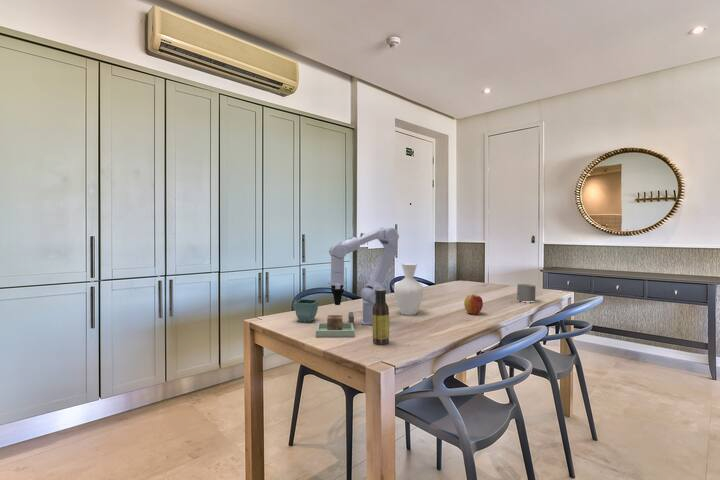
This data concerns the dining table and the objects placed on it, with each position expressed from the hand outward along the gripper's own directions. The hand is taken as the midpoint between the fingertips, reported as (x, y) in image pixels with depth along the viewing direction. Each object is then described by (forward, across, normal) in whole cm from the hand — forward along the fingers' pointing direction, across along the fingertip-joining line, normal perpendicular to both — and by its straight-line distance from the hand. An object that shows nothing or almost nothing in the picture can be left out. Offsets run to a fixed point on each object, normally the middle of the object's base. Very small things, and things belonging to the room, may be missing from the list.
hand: (337, 303), depth 161 cm
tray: (+10, +10, -1) cm, 14 cm away
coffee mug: (+11, -52, +116) cm, 128 cm away
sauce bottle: (+10, +24, +16) cm, 30 cm away
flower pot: (+10, -10, -14) cm, 20 cm away
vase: (+10, -23, +37) cm, 44 cm away
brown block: (+10, +10, -1) cm, 14 cm away
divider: (+10, -1, +6) cm, 12 cm away
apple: (+11, -21, +70) cm, 74 cm away
